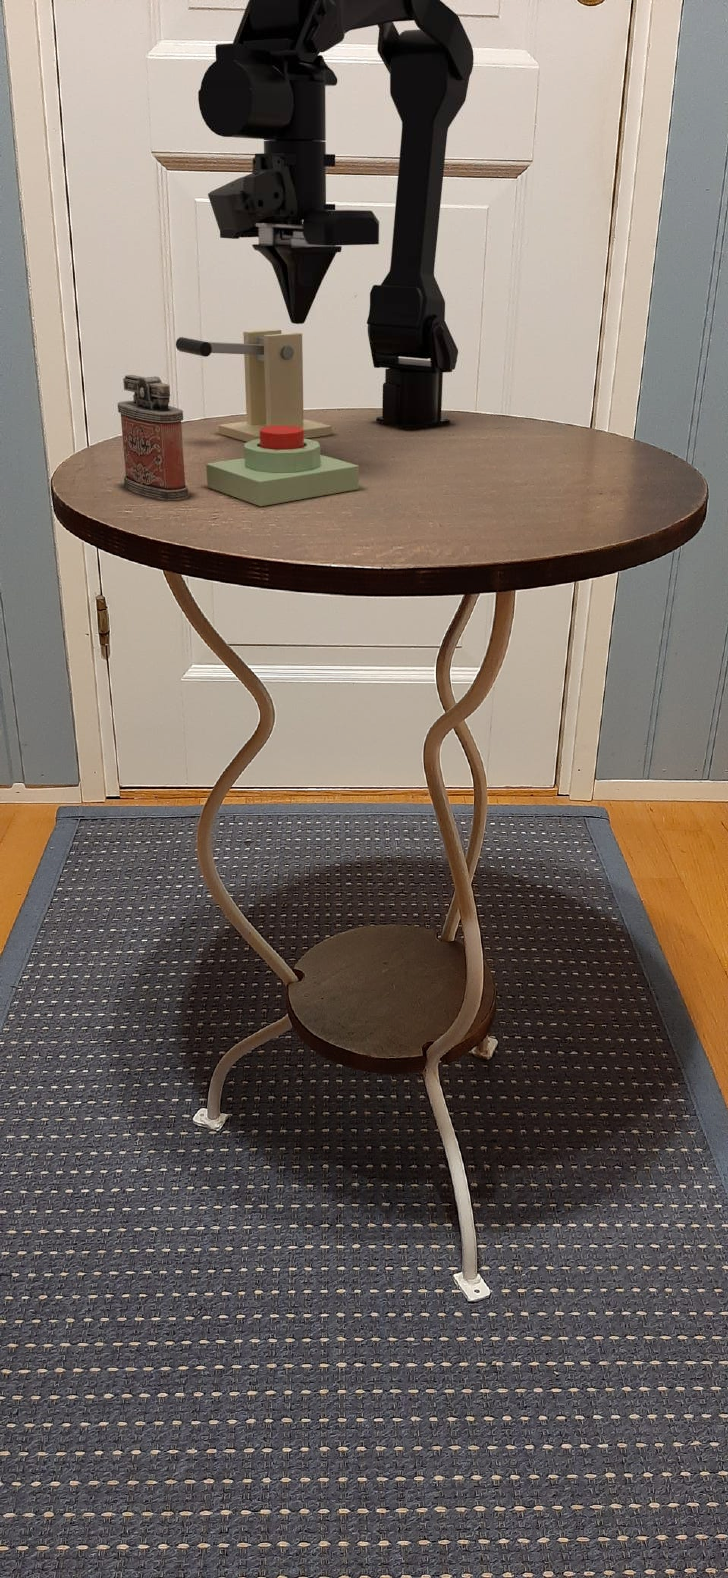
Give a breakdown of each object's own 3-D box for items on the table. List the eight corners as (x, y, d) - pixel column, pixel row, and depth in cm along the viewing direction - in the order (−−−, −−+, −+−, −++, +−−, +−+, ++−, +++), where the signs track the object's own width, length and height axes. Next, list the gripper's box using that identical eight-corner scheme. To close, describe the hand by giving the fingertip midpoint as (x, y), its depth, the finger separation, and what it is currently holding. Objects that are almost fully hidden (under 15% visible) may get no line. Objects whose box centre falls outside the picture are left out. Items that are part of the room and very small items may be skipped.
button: (287, 442, 108) (287, 423, 107) (312, 449, 105) (312, 430, 104) (251, 447, 106) (251, 428, 105) (276, 455, 103) (275, 435, 102)
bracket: (257, 445, 125) (254, 339, 120) (218, 433, 130) (213, 331, 125) (331, 435, 130) (331, 332, 125) (291, 424, 136) (289, 326, 131)
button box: (303, 472, 113) (302, 430, 111) (359, 489, 107) (359, 445, 105) (207, 487, 107) (204, 443, 105) (260, 506, 101) (258, 460, 99)
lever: (199, 361, 118) (200, 336, 117) (175, 356, 122) (175, 331, 121) (295, 364, 125) (297, 341, 125) (270, 359, 129) (271, 336, 128)
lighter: (196, 496, 104) (190, 380, 100) (165, 502, 102) (157, 384, 97) (146, 480, 109) (138, 370, 105) (116, 486, 107) (106, 373, 103)
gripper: (167, 140, 108) (178, 319, 115) (279, 136, 95) (283, 338, 102) (266, 144, 114) (270, 313, 121) (384, 140, 101) (381, 330, 108)
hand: (297, 323), depth 113 cm, fingers closed
